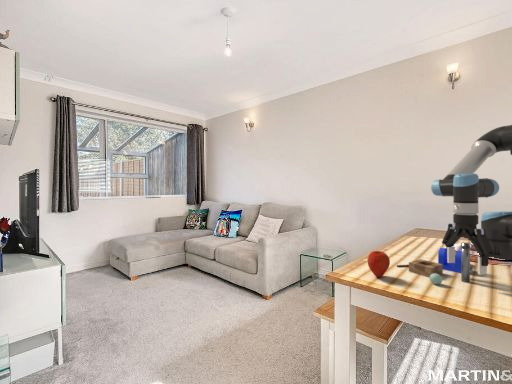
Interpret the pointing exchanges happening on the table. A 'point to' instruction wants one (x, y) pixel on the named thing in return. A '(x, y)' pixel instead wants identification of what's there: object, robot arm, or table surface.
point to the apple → (378, 263)
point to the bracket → (450, 266)
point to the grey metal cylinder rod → (465, 262)
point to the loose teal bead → (435, 278)
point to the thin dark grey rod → (402, 265)
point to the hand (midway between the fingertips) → (465, 268)
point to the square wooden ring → (425, 267)
